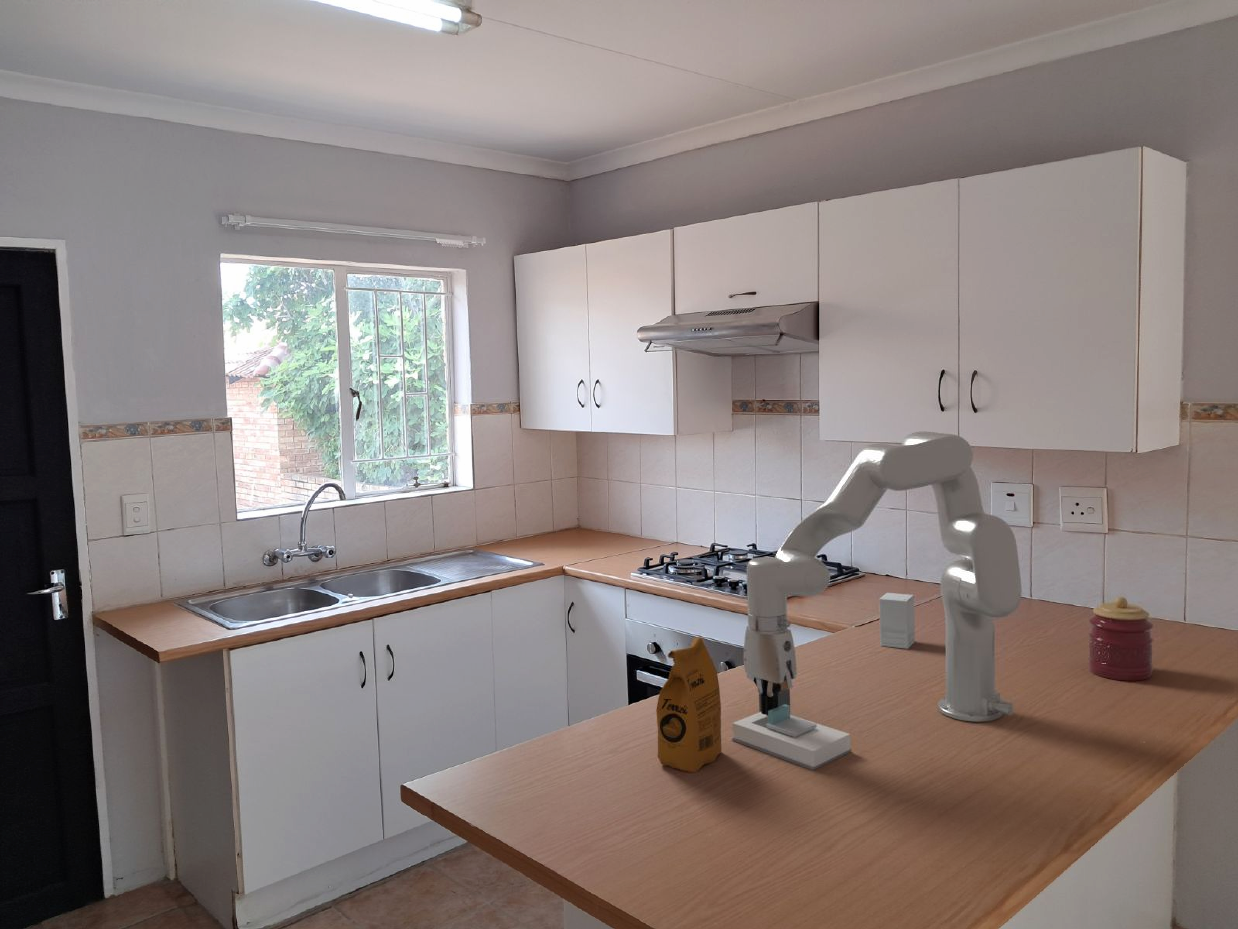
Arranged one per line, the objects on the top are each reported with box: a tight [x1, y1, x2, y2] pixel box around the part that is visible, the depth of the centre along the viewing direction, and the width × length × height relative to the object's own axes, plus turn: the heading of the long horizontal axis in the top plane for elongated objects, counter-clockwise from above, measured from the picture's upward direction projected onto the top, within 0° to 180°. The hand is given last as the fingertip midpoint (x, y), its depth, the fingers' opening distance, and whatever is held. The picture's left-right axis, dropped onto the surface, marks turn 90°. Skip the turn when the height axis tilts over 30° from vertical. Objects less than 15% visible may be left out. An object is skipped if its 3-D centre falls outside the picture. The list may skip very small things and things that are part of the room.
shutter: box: [766, 704, 818, 737], centre depth 176 cm, size 7×7×3 cm
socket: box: [731, 712, 852, 771], centre depth 176 cm, size 20×12×4 cm, turn 41°
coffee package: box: [655, 636, 722, 773], centre depth 171 cm, size 10×12×22 cm
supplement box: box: [878, 592, 916, 650], centre depth 238 cm, size 7×7×13 cm
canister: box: [1087, 596, 1155, 682], centre depth 209 cm, size 13×13×18 cm
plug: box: [758, 684, 791, 713], centre depth 191 cm, size 4×4×12 cm
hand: (769, 713), depth 180 cm, fingers closed
